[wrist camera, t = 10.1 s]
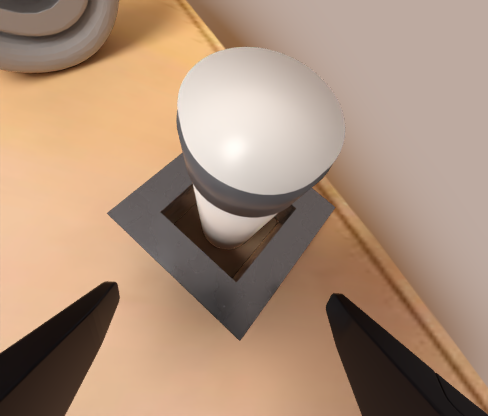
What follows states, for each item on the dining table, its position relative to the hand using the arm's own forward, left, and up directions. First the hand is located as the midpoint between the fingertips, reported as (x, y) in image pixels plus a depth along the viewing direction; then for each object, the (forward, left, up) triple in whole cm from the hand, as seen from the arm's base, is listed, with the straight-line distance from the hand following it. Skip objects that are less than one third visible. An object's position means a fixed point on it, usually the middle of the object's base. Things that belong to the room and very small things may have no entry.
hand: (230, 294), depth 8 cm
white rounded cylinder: (+3, -4, -8) cm, 9 cm away
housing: (+3, -4, -8) cm, 9 cm away
